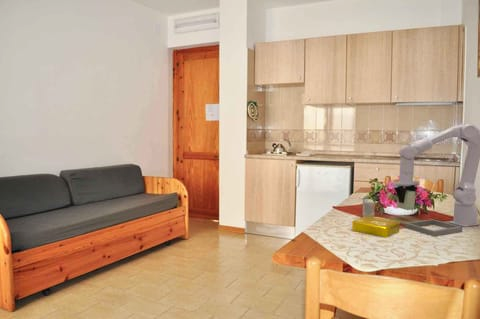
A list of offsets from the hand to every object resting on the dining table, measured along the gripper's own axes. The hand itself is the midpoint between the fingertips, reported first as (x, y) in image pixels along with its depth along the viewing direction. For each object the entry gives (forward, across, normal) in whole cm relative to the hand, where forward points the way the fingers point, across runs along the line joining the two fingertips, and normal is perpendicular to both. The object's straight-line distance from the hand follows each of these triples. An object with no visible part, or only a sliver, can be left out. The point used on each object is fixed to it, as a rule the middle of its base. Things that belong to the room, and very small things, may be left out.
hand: (405, 202), depth 175 cm
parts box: (+3, 0, 0) cm, 3 cm away
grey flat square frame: (+9, 0, +15) cm, 17 cm away
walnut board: (+9, 0, 0) cm, 9 cm away
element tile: (+9, +23, +6) cm, 26 cm away
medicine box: (+9, +12, -10) cm, 18 cm away
